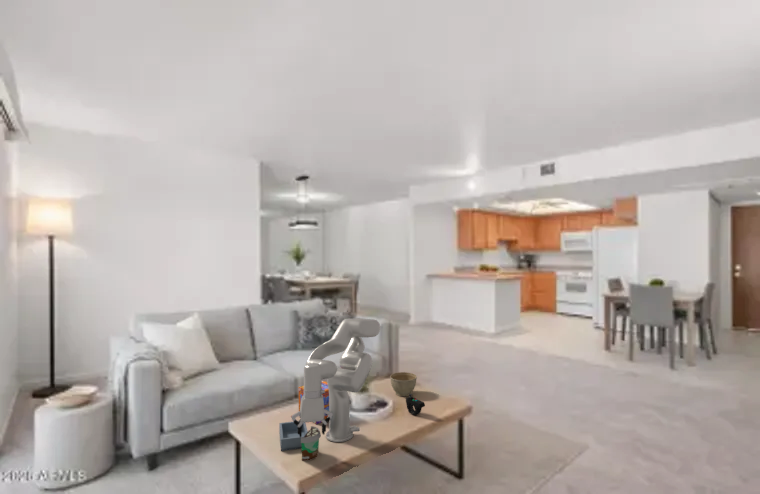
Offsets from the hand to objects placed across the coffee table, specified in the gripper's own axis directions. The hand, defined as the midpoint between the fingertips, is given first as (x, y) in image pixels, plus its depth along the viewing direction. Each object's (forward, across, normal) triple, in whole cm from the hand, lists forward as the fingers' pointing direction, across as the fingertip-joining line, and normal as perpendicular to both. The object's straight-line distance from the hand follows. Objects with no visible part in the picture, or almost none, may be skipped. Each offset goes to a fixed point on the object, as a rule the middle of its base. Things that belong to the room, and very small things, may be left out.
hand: (311, 434), depth 176 cm
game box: (+8, -9, -43) cm, 45 cm away
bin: (+9, +6, -18) cm, 21 cm away
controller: (+7, -58, -30) cm, 65 cm away
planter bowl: (+6, -62, -62) cm, 88 cm away
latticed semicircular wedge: (+10, -1, -1) cm, 10 cm away
